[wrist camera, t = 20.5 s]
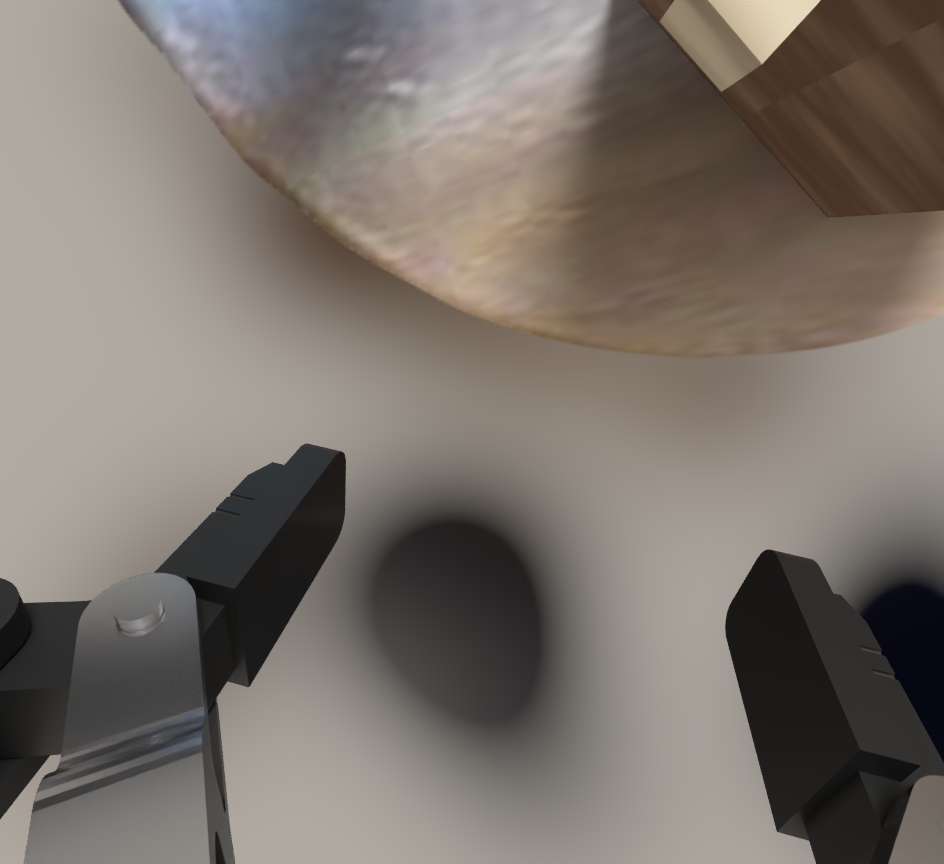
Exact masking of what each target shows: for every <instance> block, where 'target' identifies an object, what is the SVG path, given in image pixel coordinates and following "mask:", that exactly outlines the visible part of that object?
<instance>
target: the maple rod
mask: <svg viewBox="0 0 944 864" xmlns="http://www.w3.org/2000/svg"><path fill="white" fill-rule="evenodd" d="M820 1H821V0H674V2H673V3H672V5H671V6H670V7H669V9H668V10H667V12H666V13H665V15H664V16H663V17H662V19H661V20H660V23H661V24H662V25H663V26H664V27H665V28H666V29H667V31H668V32H669V33H670V34H671V35H672V36H673V37H674V39H675V40H676V41H677V42H678V43H679V44H680V45H681V47H682V48H683V49H684V50H685V51H686V52H687V53H688V55H689V56H690V57H691V58H692V59H693V60H694V61H695V62H696V64H697V65H698V66H699V67H700V68H701V69H702V70H703V72H704V73H705V74H706V75H707V76H708V77H709V78H710V80H711V81H712V82H713V83H714V84H715V85H716V86H717V88H718V89H719V90H720V91H721V92H722V91H723V90H725V89H726V88H728V87H729V86H731V85H732V84H734V83H735V82H737V81H738V80H740V79H741V78H743V77H744V76H746V75H747V74H749V73H750V72H751V71H753V70H754V69H756V68H757V67H759V66H760V65H762V64H763V63H764V62H765V61H766V59H767V58H768V57H769V56H770V55H771V54H772V53H773V52H774V51H775V50H776V49H777V48H778V46H779V45H780V44H781V43H782V42H783V41H784V40H785V39H786V38H787V37H788V36H789V34H790V33H791V32H792V31H793V30H794V29H795V28H796V27H797V26H798V25H799V24H800V22H801V21H802V20H803V19H804V18H805V17H806V16H807V15H808V14H809V13H810V12H811V10H812V9H813V8H814V7H815V6H816V5H817V4H818V3H819V2H820Z"/></svg>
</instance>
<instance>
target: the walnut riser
mask: <svg viewBox="0 0 944 864" xmlns="http://www.w3.org/2000/svg"><path fill="white" fill-rule="evenodd" d="M638 2H639V3H640V4H641V5H642V6H643V7H644V8H645V10H646V11H647V12H648V13H649V14H650V15H651V16H652V18H653V19H654V20H655V21H656V22H657V23H658V24H659V25H660V27H661V28H662V29H663V30H664V31H665V32H666V33H667V35H668V36H669V37H670V38H671V39H672V40H673V41H674V43H675V44H676V45H677V46H678V47H679V48H680V49H681V50H682V52H683V53H684V54H685V55H686V56H687V57H688V58H689V60H690V61H691V62H692V63H693V64H694V65H695V66H696V68H697V69H698V70H699V71H700V72H701V73H702V74H703V75H704V77H705V78H706V79H707V80H708V81H709V82H710V83H711V85H712V86H713V87H714V88H715V89H716V90H717V91H718V93H719V94H720V95H721V96H722V97H723V98H724V99H725V101H726V102H727V103H728V104H729V105H730V106H731V107H732V108H733V110H734V111H735V112H736V113H737V114H738V115H739V116H740V118H741V119H742V120H743V121H744V122H745V123H746V124H747V126H748V127H749V128H750V129H751V130H752V131H753V132H754V133H755V135H756V136H757V137H758V138H759V139H760V140H761V141H762V143H763V144H764V145H765V146H766V147H767V148H768V149H769V151H770V152H771V153H772V154H773V155H774V156H775V157H776V159H777V160H778V161H779V162H780V163H781V164H782V165H783V166H784V168H785V169H786V170H787V171H788V172H789V173H790V174H791V176H792V177H793V178H794V179H795V180H796V181H797V182H798V184H799V185H800V186H801V187H802V188H803V189H804V190H805V191H806V193H807V194H808V195H809V196H810V197H811V198H812V199H813V201H814V202H815V203H816V204H817V205H818V206H819V207H820V209H821V210H822V211H823V212H824V213H825V214H826V215H827V216H828V217H843V216H859V215H875V214H892V213H908V212H924V211H940V210H944V0H821V1H820V2H819V3H818V4H817V5H816V6H815V7H814V8H813V9H812V10H811V12H810V13H809V14H808V15H807V16H806V17H805V18H804V19H803V20H802V21H801V22H800V24H799V25H798V26H797V27H796V28H795V29H794V30H793V31H792V32H791V33H790V34H789V36H788V37H787V38H786V39H785V40H784V41H783V42H782V43H781V44H780V45H779V46H778V48H777V49H776V50H775V51H774V52H773V53H772V54H771V55H770V56H769V57H768V58H767V59H766V61H765V62H764V63H763V64H762V65H760V66H759V67H757V68H756V69H754V70H753V71H751V72H750V73H749V74H747V75H746V76H744V77H743V78H741V79H740V80H738V81H737V82H735V83H734V84H732V85H731V86H729V87H728V88H726V89H725V90H723V91H722V92H721V91H720V90H719V89H718V88H717V86H716V85H715V84H714V83H713V82H712V81H711V80H710V78H709V77H708V76H707V75H706V74H705V73H704V72H703V70H702V69H701V68H700V67H699V66H698V65H697V64H696V62H695V61H694V60H693V59H692V58H691V57H690V56H689V55H688V53H687V52H686V51H685V50H684V49H683V48H682V47H681V45H680V44H679V43H678V42H677V41H676V40H675V39H674V37H673V36H672V35H671V34H670V33H669V32H668V31H667V29H666V28H665V27H664V26H663V25H662V24H661V23H660V20H661V19H662V17H663V16H664V15H665V13H666V12H667V10H668V9H669V7H670V6H671V5H672V3H673V2H674V0H638Z"/></svg>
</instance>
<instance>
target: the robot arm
mask: <svg viewBox="0 0 944 864" xmlns="http://www.w3.org/2000/svg"><path fill="white" fill-rule="evenodd" d="M345 476H346V459H345V454H344V453H343V452H341V451H337V450H333V449H328V448H324V447H319V446H315V445H311V444H304V445H302V446H301V447H300V448H299V449H298V450H297V452H296V453H295V454H294V455H293V456H292V457H291V458H290V459H289V461H288V462H287V463H286V464H285V465H282V464H277V463H273V462H272V463H271V464H269V465H267V466H265V467H263V468H261V469H259V470H257V471H255V472H253V473H251V474H249V475H248V476H247V477H246V478H245V479H244V480H243V481H242V482H241V483H240V484H239V485H238V486H237V487H236V488H235V489H234V490H233V491H232V492H231V495H230V497H227V498H226V499H225V500H224V501H223V502H222V503H221V504H220V505H219V506H218V507H217V508H216V511H215V513H214V512H212V513H211V514H210V515H209V516H208V517H207V519H205V520H204V521H203V523H202V524H201V525H200V526H199V527H198V528H197V529H196V530H195V531H194V532H193V533H192V534H191V535H190V536H189V537H188V538H187V539H186V540H185V541H184V542H183V543H182V544H181V545H180V546H179V548H178V549H177V550H176V551H175V552H174V553H173V554H172V555H171V556H170V557H169V558H168V559H167V560H166V561H165V562H164V563H163V564H162V565H161V566H160V567H159V568H158V569H157V570H156V571H155V572H154V573H149V574H142V575H138V576H134V577H130V578H128V579H125V580H122V581H120V582H118V583H116V584H114V585H112V586H111V587H109V588H108V589H106V590H104V591H103V592H102V593H100V594H99V595H98V596H97V597H95V598H94V599H93V600H91V601H77V602H45V603H44V602H43V603H23V601H22V599H21V597H20V595H19V592H18V590H17V588H16V587H15V586H14V585H13V584H12V583H11V582H9V581H7V580H4V579H1V578H0V819H1V818H2V816H3V815H4V814H5V813H6V811H7V810H8V809H9V807H10V806H11V805H12V804H13V802H14V801H15V800H16V798H17V797H18V796H19V794H20V793H21V792H22V791H23V789H24V788H25V787H26V786H27V784H28V783H29V782H30V780H31V779H32V778H33V777H34V775H35V774H36V773H37V772H38V770H39V769H40V768H41V766H42V765H43V764H44V763H45V761H46V760H47V759H48V757H49V756H50V755H58V754H61V758H60V763H59V765H58V768H57V770H56V771H54V772H52V773H49V774H47V775H45V776H44V778H43V779H42V781H41V783H40V784H39V787H38V790H37V792H36V796H35V800H34V804H33V809H32V815H31V822H30V828H29V834H28V840H27V846H26V852H25V859H24V864H235V857H234V851H233V844H232V838H231V831H230V822H229V813H228V803H227V792H226V782H225V772H224V761H223V751H222V741H221V731H220V720H219V710H218V703H217V696H218V695H219V693H220V692H221V690H222V688H223V687H224V685H225V684H226V682H227V681H228V682H232V683H235V684H239V685H243V686H246V687H250V685H251V683H252V682H253V680H254V678H255V677H256V675H257V673H258V672H259V670H260V668H261V667H262V665H263V663H264V662H265V660H266V658H267V657H268V655H269V653H270V651H271V650H272V648H273V647H274V645H275V643H276V642H277V640H278V638H279V636H280V635H281V633H282V632H283V630H284V628H285V627H286V625H287V623H288V622H289V620H290V618H291V617H292V615H293V613H294V612H295V610H296V608H297V607H298V605H299V603H300V602H301V600H302V598H303V597H304V595H305V593H306V592H307V590H308V588H309V587H310V585H311V583H312V582H313V580H314V578H315V577H316V575H317V573H318V572H319V570H320V568H321V566H322V565H323V563H324V562H325V560H326V558H327V557H328V555H329V553H330V552H331V550H332V548H333V547H334V545H335V543H336V541H337V539H338V537H339V535H340V532H341V529H342V526H343V521H344V516H345V480H346V477H345ZM725 627H726V628H725V630H726V638H727V642H728V646H729V650H730V654H731V657H732V661H733V665H734V669H735V673H736V677H737V681H738V684H739V688H740V692H741V696H742V700H743V704H744V707H745V711H746V715H747V719H748V723H749V726H750V730H751V734H752V738H753V742H754V746H755V749H756V753H757V757H758V761H759V765H760V769H761V772H762V776H763V780H764V784H765V788H766V791H767V795H768V799H769V803H770V807H771V810H772V814H773V818H774V822H775V826H776V830H777V832H781V833H784V834H787V835H791V836H794V837H798V838H802V839H805V840H809V841H810V845H811V848H812V851H813V855H814V857H815V861H816V864H944V763H943V761H942V759H941V757H940V756H939V754H938V752H937V750H936V748H935V747H934V745H933V743H932V741H931V739H930V737H929V736H928V734H927V732H926V730H925V728H924V726H923V725H922V723H921V721H920V719H919V718H918V716H917V714H916V712H915V710H914V708H913V706H912V705H911V703H910V701H909V699H908V697H907V695H906V694H905V692H904V690H903V689H902V686H901V684H900V683H899V681H898V680H895V679H894V675H895V673H894V672H893V670H892V668H891V666H890V664H889V663H888V661H887V659H886V657H885V656H882V655H881V651H882V650H881V648H880V646H879V644H878V643H877V641H876V639H875V637H874V635H873V633H872V632H871V630H870V628H869V626H868V625H867V622H866V621H865V620H864V619H863V618H862V617H861V616H860V615H859V614H858V613H857V612H856V611H855V610H854V609H853V608H852V606H851V605H850V604H849V603H848V602H847V601H846V600H845V599H844V598H843V597H842V596H841V595H837V594H833V592H832V590H831V588H830V586H829V584H828V582H827V580H826V578H825V577H824V575H823V573H822V571H821V569H820V567H819V565H818V564H817V563H816V562H815V561H814V560H812V559H808V558H804V557H799V556H795V555H790V554H786V553H782V552H778V551H774V550H765V551H764V552H762V553H761V554H760V556H759V557H758V558H757V560H756V562H755V564H754V565H753V567H752V569H751V570H750V572H749V574H748V575H747V577H746V579H745V580H744V582H743V584H742V586H741V587H740V589H739V590H738V592H737V594H736V595H735V597H734V599H733V600H732V602H731V604H730V606H729V609H728V612H727V617H726V625H725Z"/></svg>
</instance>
